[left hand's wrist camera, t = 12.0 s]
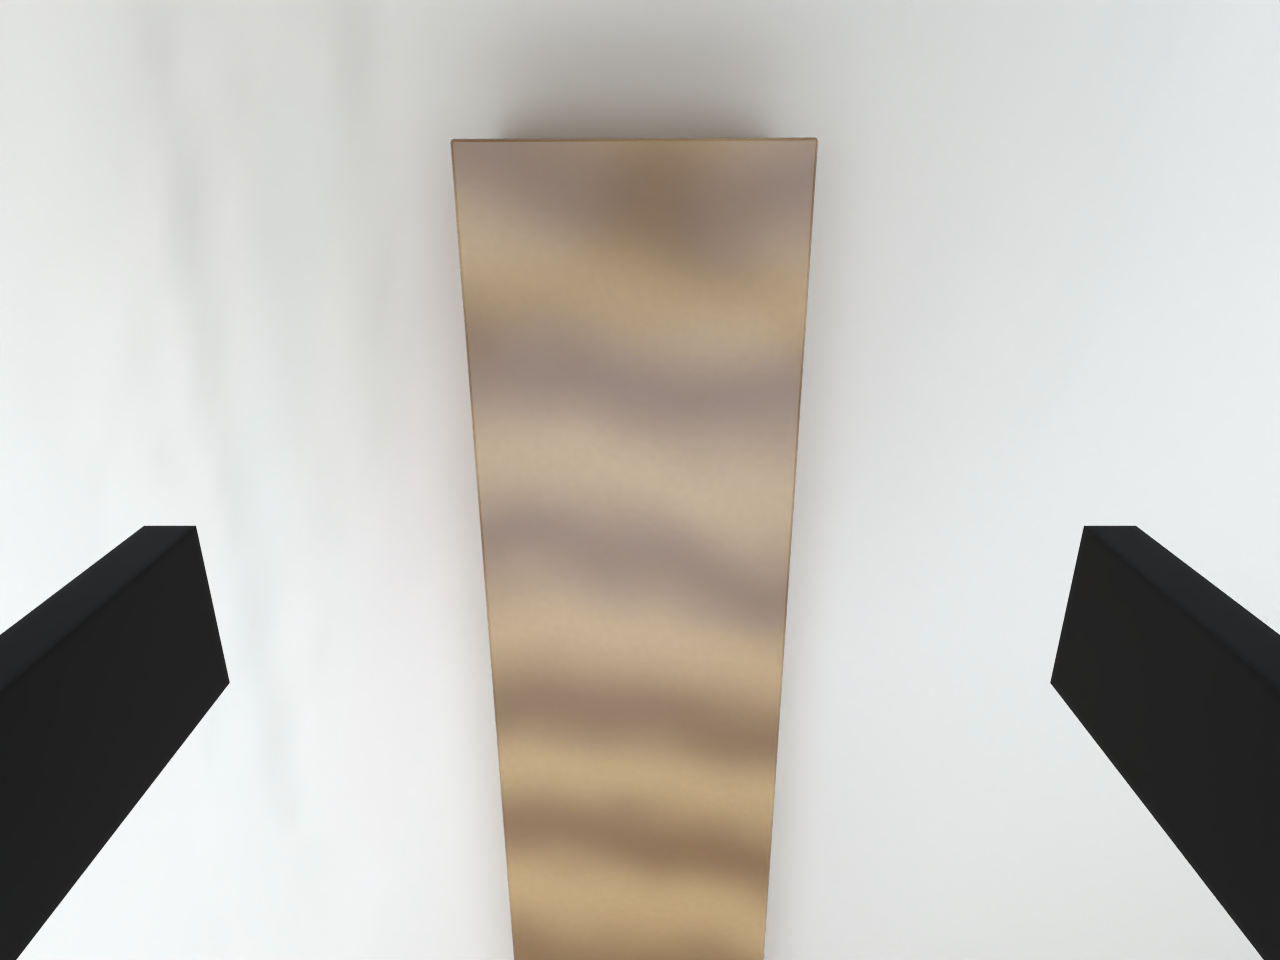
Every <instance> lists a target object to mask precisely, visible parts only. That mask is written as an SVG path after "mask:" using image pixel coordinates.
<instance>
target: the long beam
mask: <svg viewBox="0 0 1280 960" xmlns="http://www.w3.org/2000/svg"><path fill="white" fill-rule="evenodd" d="M817 146H818V140H817V138H593V139H453V140H451V153H452V166H453V179H454V192H455V205H456V218H457V231H458V243H459V256H460V269H461V282H462V295H463V308H464V321H465V333H466V346H467V359H468V372H469V385H470V398H471V411H472V423H473V436H474V449H475V462H476V475H477V488H478V501H479V513H480V526H481V539H482V552H483V565H484V578H485V591H486V603H487V616H488V629H489V642H490V655H491V668H492V681H493V693H494V706H495V719H496V732H497V745H498V758H499V771H500V783H501V796H502V809H503V822H504V835H505V848H506V861H507V873H508V886H509V899H510V912H511V925H512V938H513V951H514V960H763V959H764V944H765V929H766V914H767V899H768V884H769V869H770V853H771V838H772V823H773V808H774V793H775V778H776V763H777V748H778V733H779V718H780V703H781V688H782V673H783V658H784V643H785V628H786V613H787V598H788V583H789V567H790V552H791V537H792V522H793V507H794V492H795V477H796V462H797V447H798V432H799V417H800V402H801V387H802V372H803V357H804V342H805V327H806V312H807V297H808V281H809V266H810V251H811V236H812V221H813V206H814V191H815V176H816V161H817Z"/></svg>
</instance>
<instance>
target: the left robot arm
mask: <svg viewBox="0 0 1280 960" xmlns="http://www.w3.org/2000/svg"><path fill="white" fill-rule="evenodd" d="M229 683H230V682H229V678H228V673H227V668H226V664H225V659H224V654H223V650H222V645H221V640H220V636H219V631H218V626H217V622H216V617H215V612H214V608H213V603H212V598H211V594H210V589H209V584H208V580H207V575H206V570H205V566H204V561H203V556H202V552H201V547H200V543H199V538H198V533H197V529H196V526H143V527H142V528H141V529H139V530H138V531H137V532H135V533H134V534H133V535H131V536H130V537H129V538H127V539H126V540H125V541H124V542H122V543H121V544H120V545H118V546H117V547H116V548H114V549H113V550H112V551H110V552H109V553H108V554H106V555H105V556H104V557H102V558H101V559H100V560H98V561H97V562H96V563H95V564H93V565H92V566H91V567H89V568H88V569H87V570H85V571H84V572H83V573H81V574H80V575H79V576H77V577H76V578H75V579H73V580H72V581H71V582H69V583H68V584H67V585H66V586H64V587H63V588H62V589H60V590H59V591H58V592H56V593H55V594H54V595H52V596H51V597H50V598H48V599H47V600H46V601H44V602H43V603H42V604H40V605H39V606H38V607H36V608H35V609H34V610H33V611H31V612H30V613H29V614H27V615H26V616H25V617H23V618H22V619H21V620H19V621H18V622H17V623H15V624H14V625H13V626H11V627H10V628H9V629H7V630H6V631H5V632H4V633H2V634H1V635H0V960H16V959H17V958H18V957H19V956H20V954H21V953H22V952H23V950H24V949H25V948H26V946H27V945H28V944H29V943H30V941H31V940H32V939H33V937H34V936H35V935H36V933H37V932H38V931H39V930H40V928H41V927H42V926H43V924H44V923H45V922H46V921H47V919H48V918H49V917H50V915H51V914H52V913H53V911H54V910H55V909H56V908H57V906H58V905H59V904H60V902H61V901H62V900H63V898H64V897H65V896H66V895H67V893H68V892H69V891H70V889H71V888H72V887H73V885H74V884H75V883H76V882H77V880H78V879H79V878H80V876H81V875H82V874H83V872H84V871H85V870H86V869H87V867H88V866H89V865H90V863H91V862H92V861H93V859H94V858H95V857H96V856H97V854H98V853H99V852H100V850H101V849H102V848H103V847H104V845H105V844H106V843H107V841H108V840H109V839H110V837H111V836H112V835H113V834H114V832H115V831H116V830H117V828H118V827H119V826H120V824H121V823H122V822H123V821H124V819H125V818H126V817H127V815H128V814H129V813H130V811H131V810H132V809H133V808H134V806H135V805H136V804H137V802H138V801H139V800H140V798H141V797H142V796H143V795H144V793H145V792H146V791H147V789H148V788H149V787H150V785H151V784H152V783H153V782H154V780H155V779H156V778H157V776H158V775H159V774H160V773H161V771H162V770H163V769H164V767H165V766H166V765H167V763H168V762H169V761H170V760H171V758H172V757H173V756H174V754H175V753H176V752H177V750H178V749H179V748H180V747H181V745H182V744H183V743H184V741H185V740H186V739H187V737H188V736H189V735H190V734H191V732H192V731H193V730H194V728H195V727H196V726H197V724H198V723H199V722H200V721H201V719H202V718H203V717H204V715H205V714H206V713H207V711H208V710H209V709H210V708H211V706H212V705H213V704H214V702H215V701H216V700H217V699H218V697H219V696H220V695H221V693H222V692H223V691H224V689H225V688H226V687H227V686H228V684H229ZM1050 683H1051V684H1052V686H1053V687H1054V688H1055V689H1056V691H1057V692H1058V693H1059V695H1060V696H1061V697H1062V699H1063V700H1064V701H1065V702H1066V704H1067V705H1068V706H1069V708H1070V709H1071V710H1072V711H1073V713H1074V714H1075V715H1076V717H1077V718H1078V719H1079V721H1080V722H1081V723H1082V724H1083V726H1084V727H1085V728H1086V730H1087V731H1088V732H1089V734H1090V735H1091V736H1092V737H1093V739H1094V740H1095V741H1096V743H1097V744H1098V745H1099V747H1100V748H1101V749H1102V750H1103V752H1104V753H1105V754H1106V756H1107V757H1108V758H1109V760H1110V761H1111V762H1112V763H1113V765H1114V766H1115V767H1116V769H1117V770H1118V771H1119V773H1120V774H1121V775H1122V776H1123V778H1124V779H1125V780H1126V782H1127V783H1128V784H1129V785H1130V787H1131V788H1132V789H1133V791H1134V792H1135V793H1136V795H1137V796H1138V797H1139V798H1140V800H1141V801H1142V802H1143V804H1144V805H1145V806H1146V808H1147V809H1148V810H1149V811H1150V813H1151V814H1152V815H1153V817H1154V818H1155V819H1156V821H1157V822H1158V823H1159V824H1160V826H1161V827H1162V828H1163V830H1164V831H1165V832H1166V834H1167V835H1168V836H1169V837H1170V839H1171V840H1172V841H1173V843H1174V844H1175V845H1176V847H1177V848H1178V849H1179V850H1180V852H1181V853H1182V854H1183V856H1184V857H1185V858H1186V859H1187V861H1188V862H1189V863H1190V865H1191V866H1192V867H1193V869H1194V870H1195V871H1196V872H1197V874H1198V875H1199V876H1200V878H1201V879H1202V880H1203V882H1204V883H1205V884H1206V885H1207V887H1208V888H1209V889H1210V891H1211V892H1212V893H1213V895H1214V896H1215V897H1216V898H1217V900H1218V901H1219V902H1220V904H1221V905H1222V906H1223V908H1224V909H1225V910H1226V911H1227V913H1228V914H1229V915H1230V917H1231V918H1232V919H1233V921H1234V922H1235V923H1236V924H1237V926H1238V927H1239V928H1240V930H1241V931H1242V932H1243V933H1244V935H1245V936H1246V937H1247V939H1248V940H1249V941H1250V943H1251V944H1252V945H1253V946H1254V948H1255V949H1256V950H1257V952H1258V953H1259V954H1260V956H1261V957H1262V958H1263V959H1264V960H1280V635H1279V634H1278V633H1276V632H1275V631H1274V630H1273V629H1271V628H1270V627H1269V626H1267V625H1266V624H1265V623H1263V622H1262V621H1261V620H1259V619H1258V618H1257V617H1255V616H1254V615H1253V614H1251V613H1250V612H1249V611H1247V610H1246V609H1245V608H1244V607H1242V606H1241V605H1240V604H1238V603H1237V602H1236V601H1234V600H1233V599H1232V598H1230V597H1229V596H1228V595H1226V594H1225V593H1224V592H1222V591H1221V590H1220V589H1218V588H1217V587H1216V586H1214V585H1213V584H1212V583H1211V582H1209V581H1208V580H1207V579H1205V578H1204V577H1203V576H1201V575H1200V574H1199V573H1197V572H1196V571H1195V570H1193V569H1192V568H1191V567H1189V566H1188V565H1187V564H1185V563H1184V562H1183V561H1182V560H1180V559H1179V558H1178V557H1176V556H1175V555H1174V554H1172V553H1171V552H1170V551H1168V550H1167V549H1166V548H1164V547H1163V546H1162V545H1160V544H1159V543H1158V542H1156V541H1155V540H1154V539H1153V538H1151V537H1150V536H1149V535H1147V534H1146V533H1145V532H1143V531H1142V530H1141V529H1139V528H1138V527H1137V526H1084V529H1083V533H1082V538H1081V543H1080V547H1079V552H1078V556H1077V561H1076V566H1075V570H1074V575H1073V580H1072V584H1071V589H1070V594H1069V598H1068V603H1067V608H1066V612H1065V617H1064V622H1063V626H1062V631H1061V636H1060V640H1059V645H1058V650H1057V654H1056V659H1055V664H1054V668H1053V673H1052V678H1051V682H1050Z"/></svg>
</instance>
